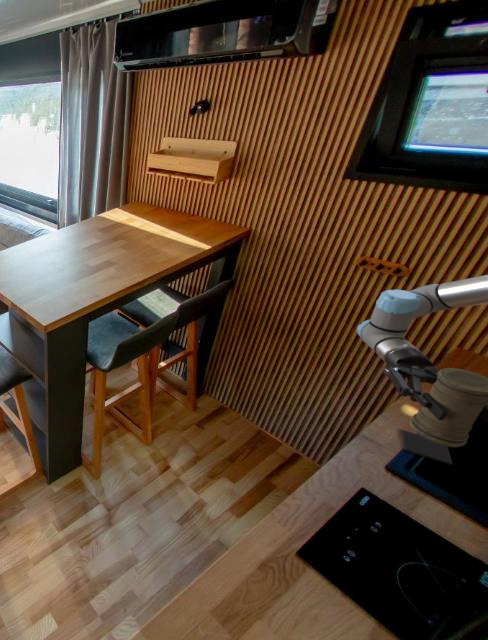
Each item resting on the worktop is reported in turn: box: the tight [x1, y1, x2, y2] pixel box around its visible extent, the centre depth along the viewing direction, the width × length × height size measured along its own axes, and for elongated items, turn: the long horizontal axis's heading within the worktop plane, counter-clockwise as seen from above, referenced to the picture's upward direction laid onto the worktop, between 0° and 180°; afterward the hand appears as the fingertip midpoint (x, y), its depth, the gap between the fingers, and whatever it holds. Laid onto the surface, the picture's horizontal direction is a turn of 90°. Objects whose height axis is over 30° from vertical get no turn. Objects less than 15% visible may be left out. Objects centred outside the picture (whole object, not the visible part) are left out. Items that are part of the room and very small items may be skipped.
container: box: [409, 367, 488, 448], centre depth 88 cm, size 9×9×18 cm
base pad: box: [400, 429, 453, 466], centre depth 99 cm, size 8×8×1 cm
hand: (469, 419), depth 83 cm, fingers closed on container, 8 cm apart
